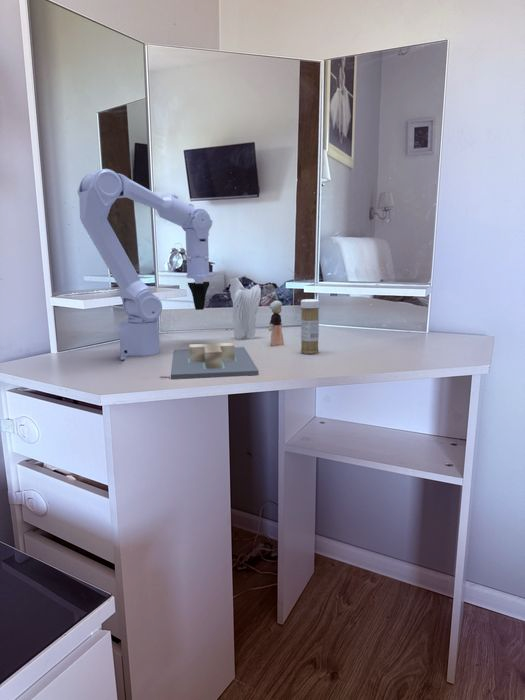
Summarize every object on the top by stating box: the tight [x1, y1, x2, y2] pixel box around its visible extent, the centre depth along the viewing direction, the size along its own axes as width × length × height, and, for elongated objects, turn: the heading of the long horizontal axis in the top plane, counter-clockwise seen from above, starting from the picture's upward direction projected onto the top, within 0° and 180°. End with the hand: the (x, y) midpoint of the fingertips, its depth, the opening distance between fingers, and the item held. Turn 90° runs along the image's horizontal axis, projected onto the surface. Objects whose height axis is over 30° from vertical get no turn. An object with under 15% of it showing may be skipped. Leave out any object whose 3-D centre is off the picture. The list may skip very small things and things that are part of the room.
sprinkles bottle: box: [300, 298, 320, 355], centre depth 121 cm, size 5×5×14 cm
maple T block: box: [188, 342, 235, 369], centre depth 108 cm, size 10×10×4 cm
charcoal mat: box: [170, 346, 260, 380], centre depth 112 cm, size 18×26×1 cm
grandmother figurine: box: [268, 300, 285, 347], centre depth 128 cm, size 8×4×13 cm, turn 168°
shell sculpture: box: [229, 277, 262, 340], centre depth 138 cm, size 8×8×18 cm
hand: (199, 309), depth 128 cm, fingers closed
